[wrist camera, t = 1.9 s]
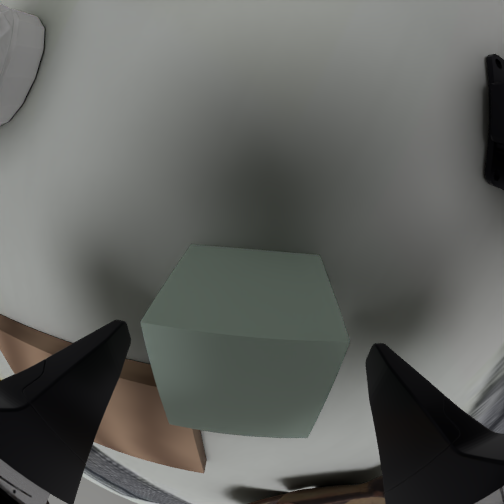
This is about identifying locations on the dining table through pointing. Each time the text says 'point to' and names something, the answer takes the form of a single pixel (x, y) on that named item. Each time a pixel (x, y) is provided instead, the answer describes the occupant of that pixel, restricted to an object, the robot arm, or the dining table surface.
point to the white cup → (18, 57)
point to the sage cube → (245, 341)
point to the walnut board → (117, 404)
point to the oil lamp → (333, 495)
